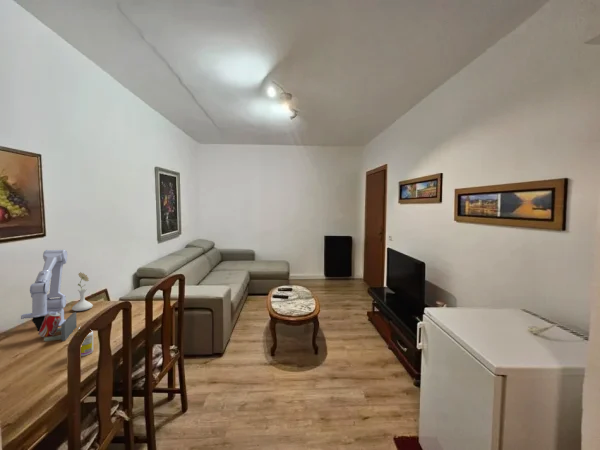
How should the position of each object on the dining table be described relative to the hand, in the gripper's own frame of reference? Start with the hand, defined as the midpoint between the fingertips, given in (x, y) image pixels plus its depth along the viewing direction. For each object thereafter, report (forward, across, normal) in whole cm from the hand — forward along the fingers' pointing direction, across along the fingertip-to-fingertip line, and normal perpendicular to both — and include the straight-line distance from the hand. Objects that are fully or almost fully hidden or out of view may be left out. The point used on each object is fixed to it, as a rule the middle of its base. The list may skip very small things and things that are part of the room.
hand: (39, 330), depth 150 cm
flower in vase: (+3, +7, +44) cm, 44 cm away
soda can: (+3, +2, 0) cm, 4 cm away
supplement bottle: (+5, +26, -26) cm, 38 cm away
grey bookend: (+4, +9, +1) cm, 9 cm away
